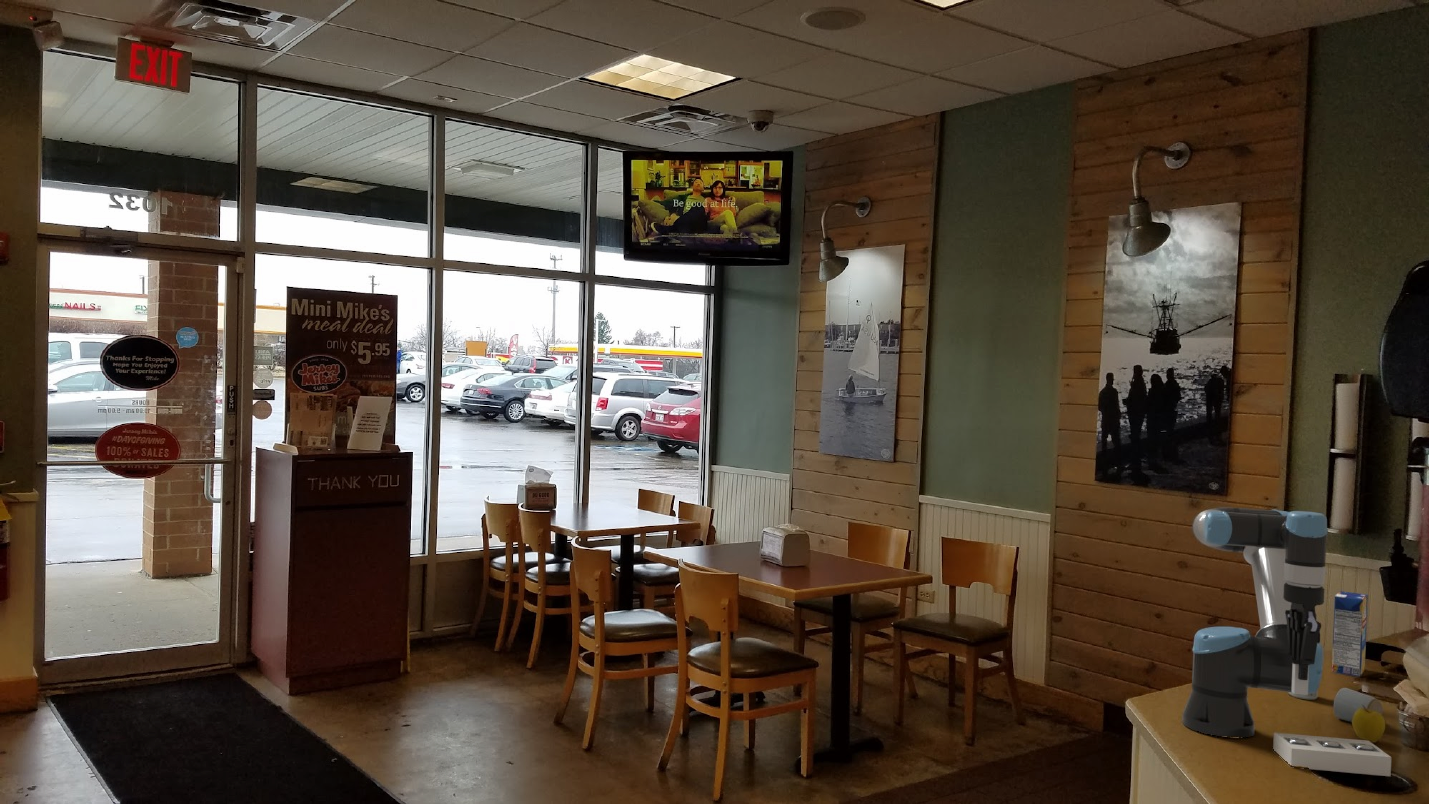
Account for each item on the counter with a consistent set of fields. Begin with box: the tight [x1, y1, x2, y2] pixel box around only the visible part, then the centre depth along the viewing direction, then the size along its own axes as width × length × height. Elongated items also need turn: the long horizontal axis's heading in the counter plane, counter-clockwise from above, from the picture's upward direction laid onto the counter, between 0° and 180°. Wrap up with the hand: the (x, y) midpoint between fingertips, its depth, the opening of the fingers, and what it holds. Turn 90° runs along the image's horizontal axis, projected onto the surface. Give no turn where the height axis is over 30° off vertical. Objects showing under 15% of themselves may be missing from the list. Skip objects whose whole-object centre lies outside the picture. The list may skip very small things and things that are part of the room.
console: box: [1272, 732, 1392, 777], centre depth 212 cm, size 19×10×4 cm, turn 80°
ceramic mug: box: [1333, 687, 1383, 723], centre depth 241 cm, size 11×8×8 cm
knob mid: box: [1321, 741, 1341, 749], centre depth 212 cm, size 4×4×4 cm
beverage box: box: [1331, 590, 1369, 678], centre depth 288 cm, size 7×11×22 cm, turn 140°
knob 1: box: [1288, 738, 1307, 746], centre depth 213 cm, size 4×4×4 cm
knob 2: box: [1354, 744, 1374, 752], centre depth 211 cm, size 4×4×4 cm
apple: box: [1351, 705, 1386, 744], centre depth 227 cm, size 6×6×8 cm
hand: (1299, 693), depth 214 cm, fingers closed
